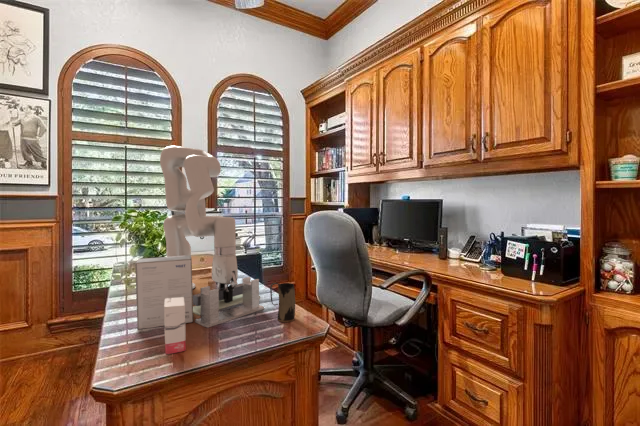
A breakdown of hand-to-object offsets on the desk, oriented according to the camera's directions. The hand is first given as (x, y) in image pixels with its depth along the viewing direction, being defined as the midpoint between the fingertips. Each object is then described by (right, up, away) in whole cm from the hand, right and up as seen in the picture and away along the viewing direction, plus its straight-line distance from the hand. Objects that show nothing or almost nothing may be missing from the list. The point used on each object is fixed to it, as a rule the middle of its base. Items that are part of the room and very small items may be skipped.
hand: (225, 300), depth 120 cm
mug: (+23, -2, -16) cm, 28 cm away
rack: (+6, -2, -12) cm, 13 cm away
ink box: (-3, -3, -35) cm, 35 cm away
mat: (0, -1, 0) cm, 1 cm away
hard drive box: (-13, -2, -18) cm, 22 cm away
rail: (0, +1, 0) cm, 1 cm away
